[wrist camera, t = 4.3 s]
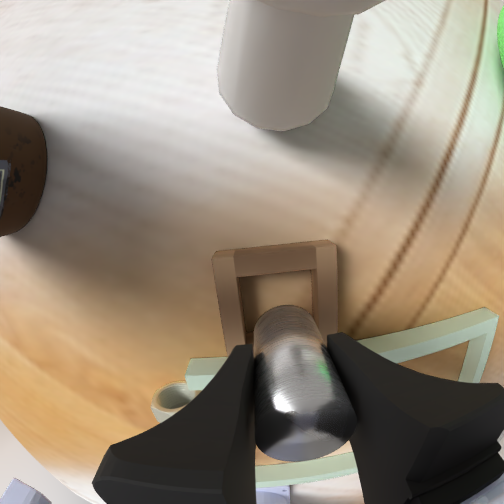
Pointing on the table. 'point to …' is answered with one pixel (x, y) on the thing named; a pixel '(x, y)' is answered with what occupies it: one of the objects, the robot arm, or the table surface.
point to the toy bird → (501, 34)
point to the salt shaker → (283, 58)
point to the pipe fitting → (171, 399)
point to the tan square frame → (268, 262)
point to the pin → (297, 389)
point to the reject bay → (392, 348)
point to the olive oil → (20, 169)
